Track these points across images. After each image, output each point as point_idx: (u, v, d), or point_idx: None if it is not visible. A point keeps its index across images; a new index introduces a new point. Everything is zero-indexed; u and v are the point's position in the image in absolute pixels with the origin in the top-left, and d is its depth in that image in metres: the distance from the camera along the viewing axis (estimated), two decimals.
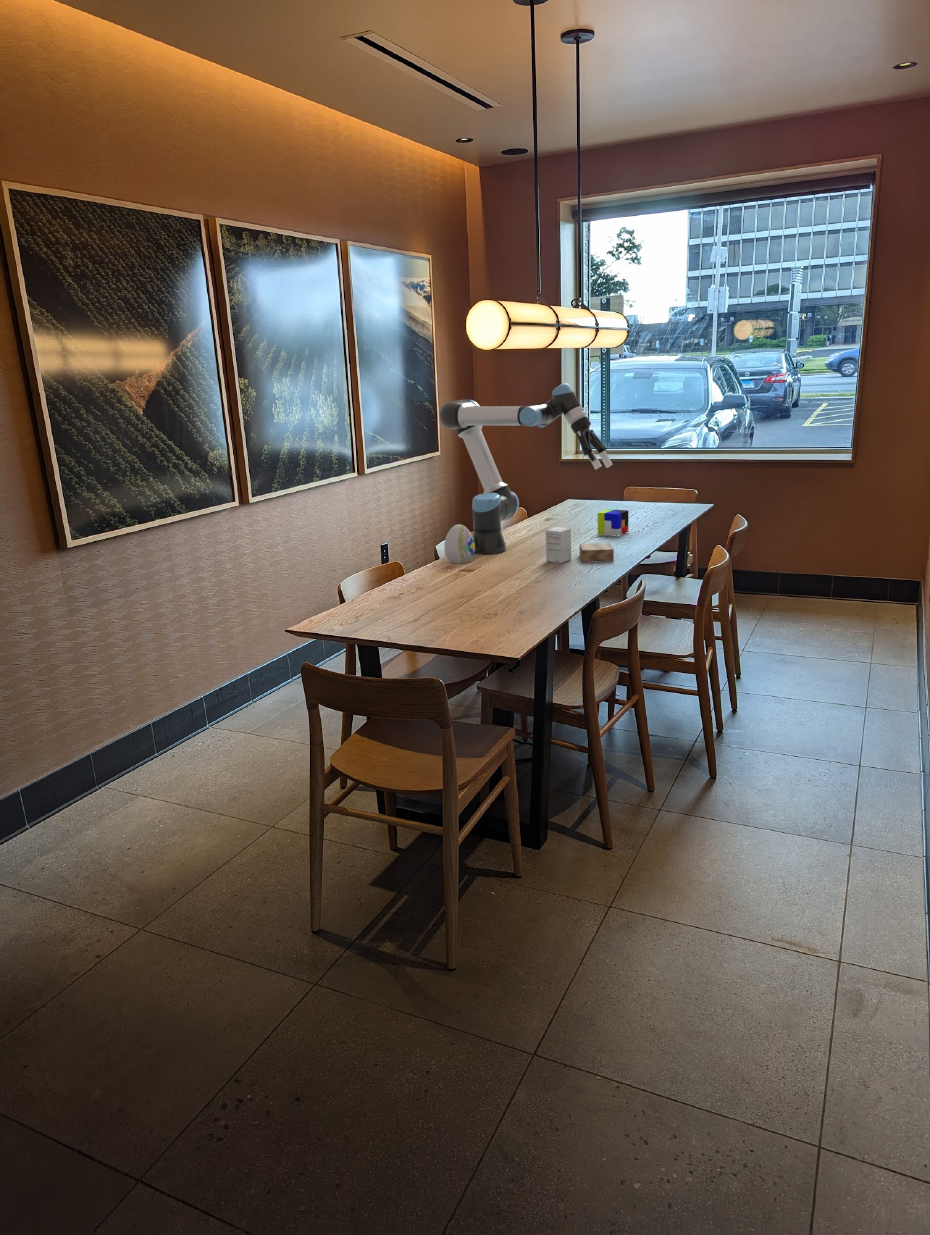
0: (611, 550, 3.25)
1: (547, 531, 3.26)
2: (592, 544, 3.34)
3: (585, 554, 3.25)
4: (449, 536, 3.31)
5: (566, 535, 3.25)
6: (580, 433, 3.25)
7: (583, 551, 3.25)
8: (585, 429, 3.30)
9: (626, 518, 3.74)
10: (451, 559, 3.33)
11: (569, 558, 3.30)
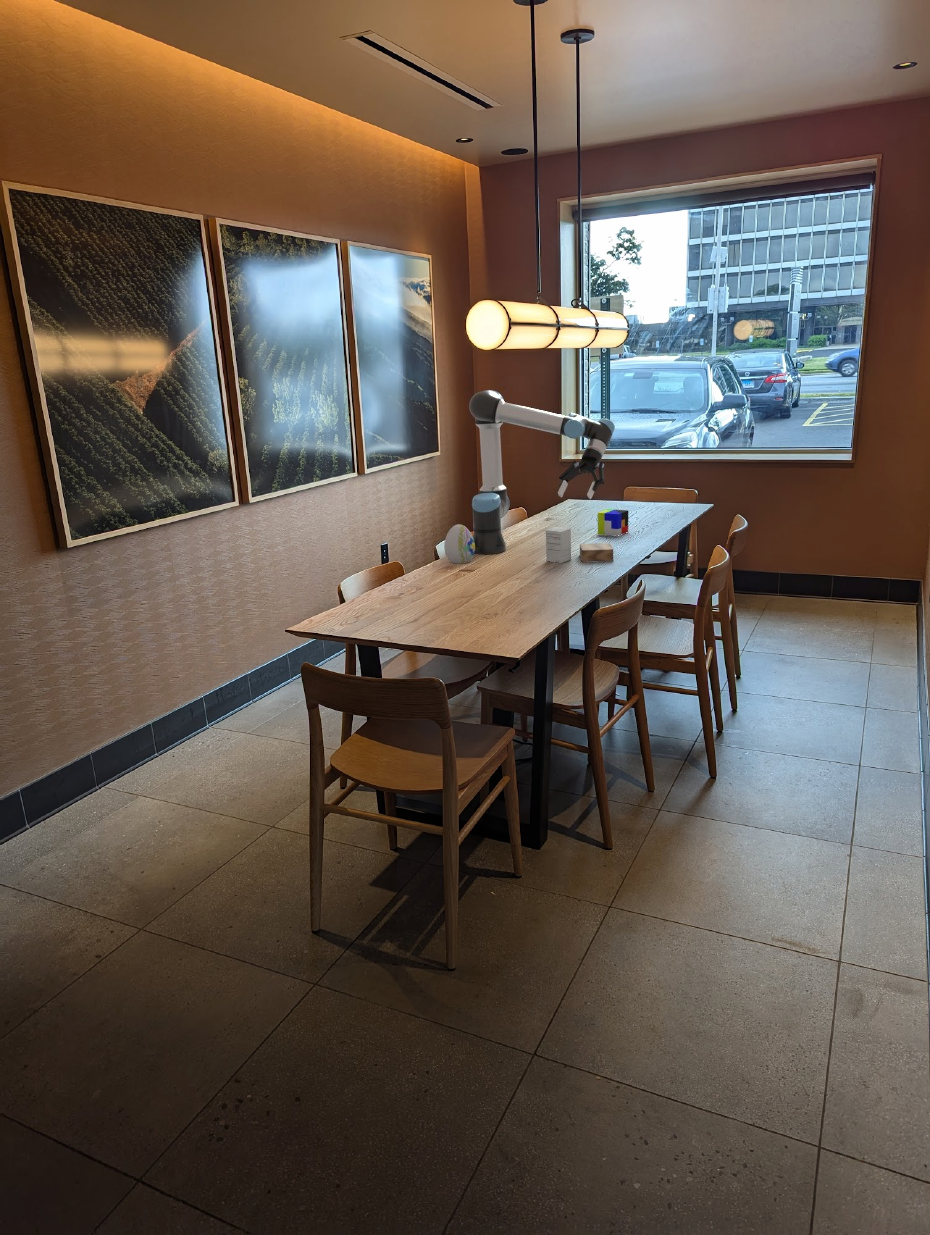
0: (611, 550, 3.25)
1: (547, 531, 3.26)
2: (592, 544, 3.34)
3: (584, 554, 3.25)
4: (449, 536, 3.31)
5: (566, 535, 3.25)
6: (603, 466, 3.32)
7: (583, 551, 3.25)
8: None
9: (626, 518, 3.74)
10: (451, 559, 3.33)
11: (569, 558, 3.30)
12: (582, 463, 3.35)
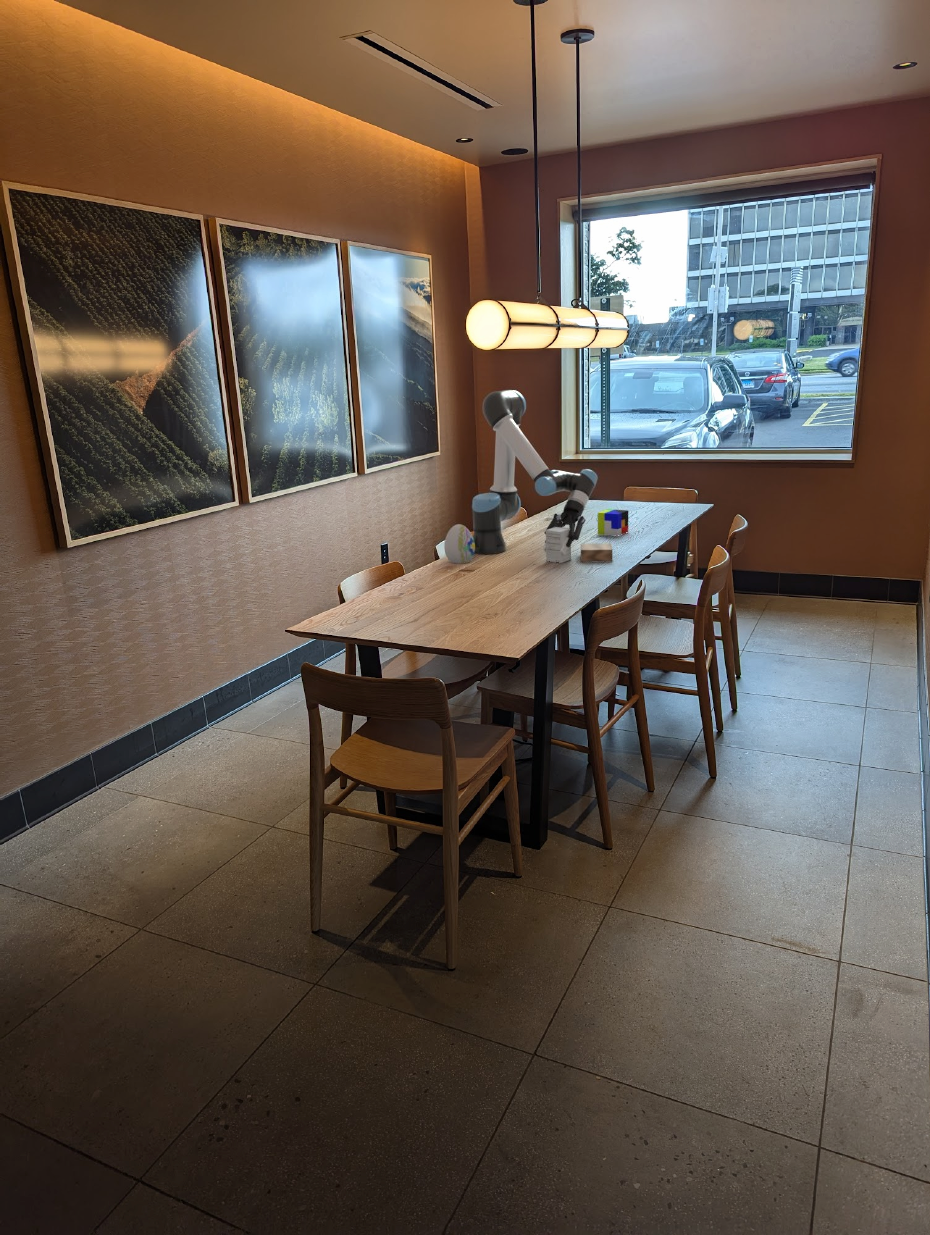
0: (610, 550, 3.24)
1: (547, 531, 3.26)
2: (593, 544, 3.34)
3: (583, 553, 3.26)
4: (449, 536, 3.31)
5: (566, 535, 3.25)
6: (583, 521, 3.28)
7: (582, 551, 3.26)
8: None
9: (626, 518, 3.74)
10: (451, 559, 3.33)
11: (569, 558, 3.30)
12: (564, 515, 3.31)
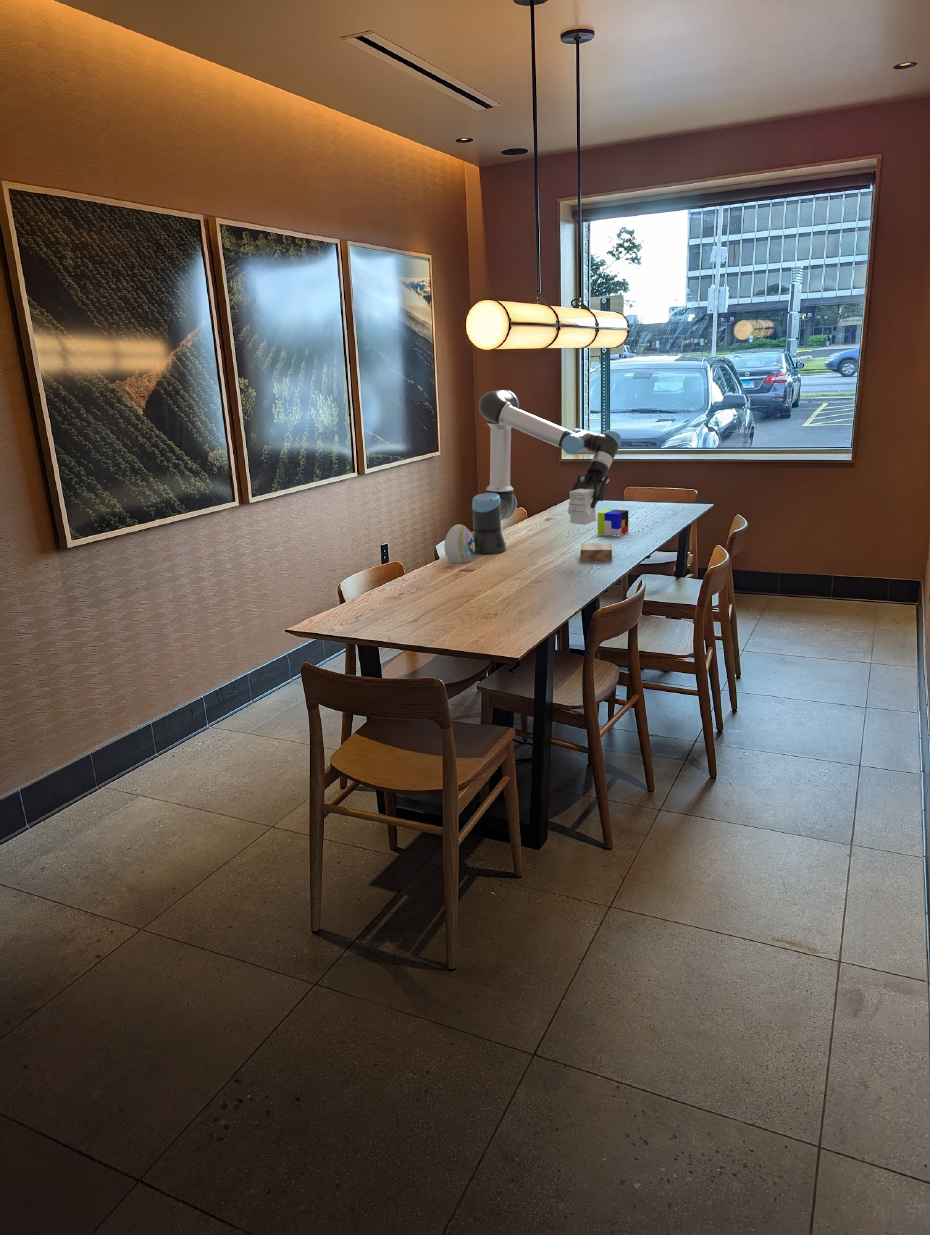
0: (609, 550, 3.24)
1: (571, 492, 3.22)
2: (593, 544, 3.34)
3: (583, 553, 3.26)
4: (449, 536, 3.31)
5: (590, 496, 3.21)
6: (607, 482, 3.23)
7: (581, 551, 3.26)
8: None
9: (626, 518, 3.74)
10: (451, 559, 3.33)
11: (593, 520, 3.25)
12: (588, 476, 3.27)
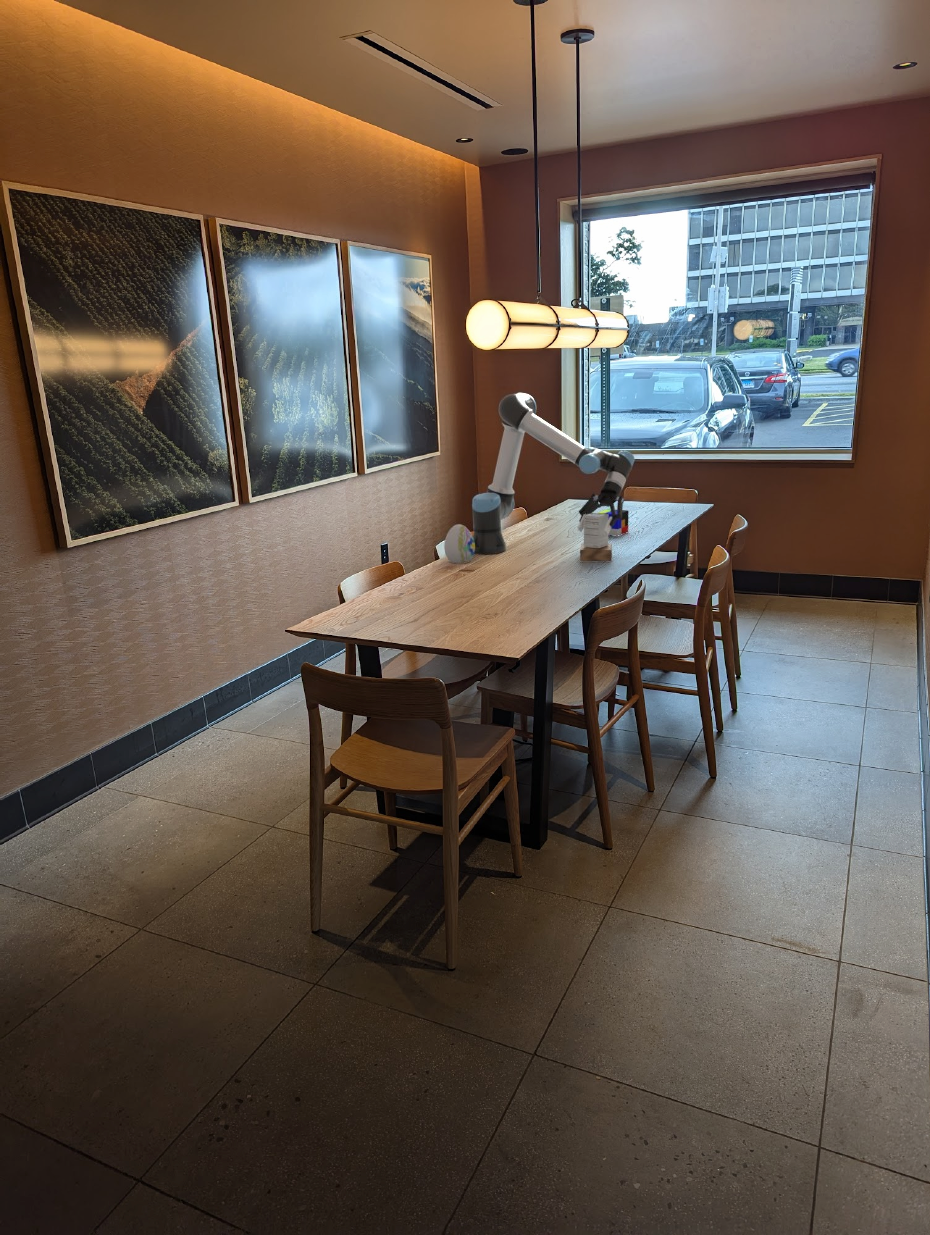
0: (609, 551, 3.24)
1: (585, 516, 3.26)
2: None
3: (582, 553, 3.26)
4: (449, 536, 3.31)
5: (604, 520, 3.26)
6: (622, 501, 3.27)
7: (581, 551, 3.26)
8: None
9: (626, 518, 3.74)
10: (451, 559, 3.33)
11: (606, 544, 3.30)
12: (601, 496, 3.31)
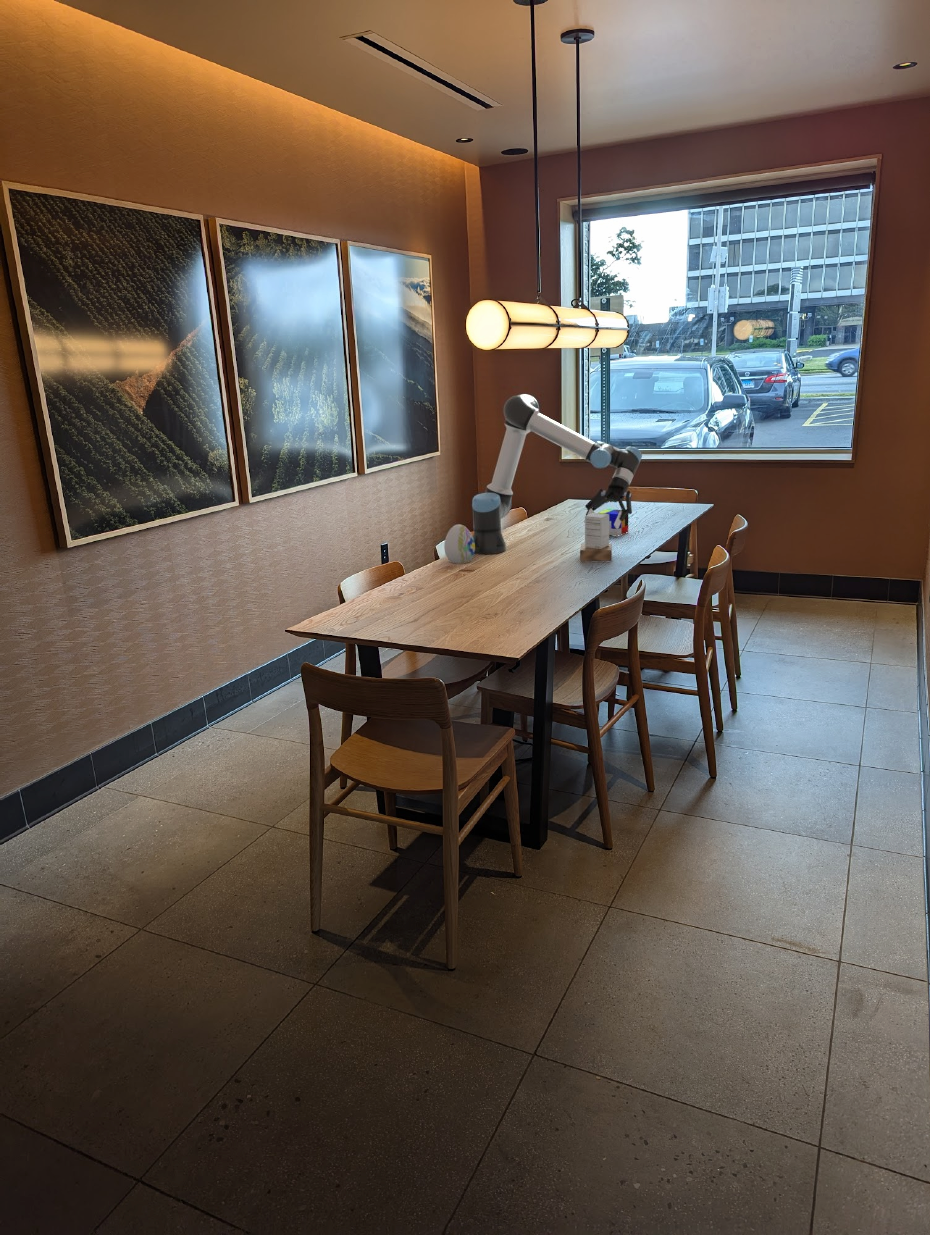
0: (609, 551, 3.24)
1: (586, 517, 3.26)
2: None
3: (582, 554, 3.26)
4: (449, 536, 3.31)
5: (605, 521, 3.26)
6: (630, 495, 3.30)
7: (581, 551, 3.26)
8: None
9: (626, 518, 3.74)
10: (451, 559, 3.33)
11: (607, 544, 3.30)
12: (609, 492, 3.34)
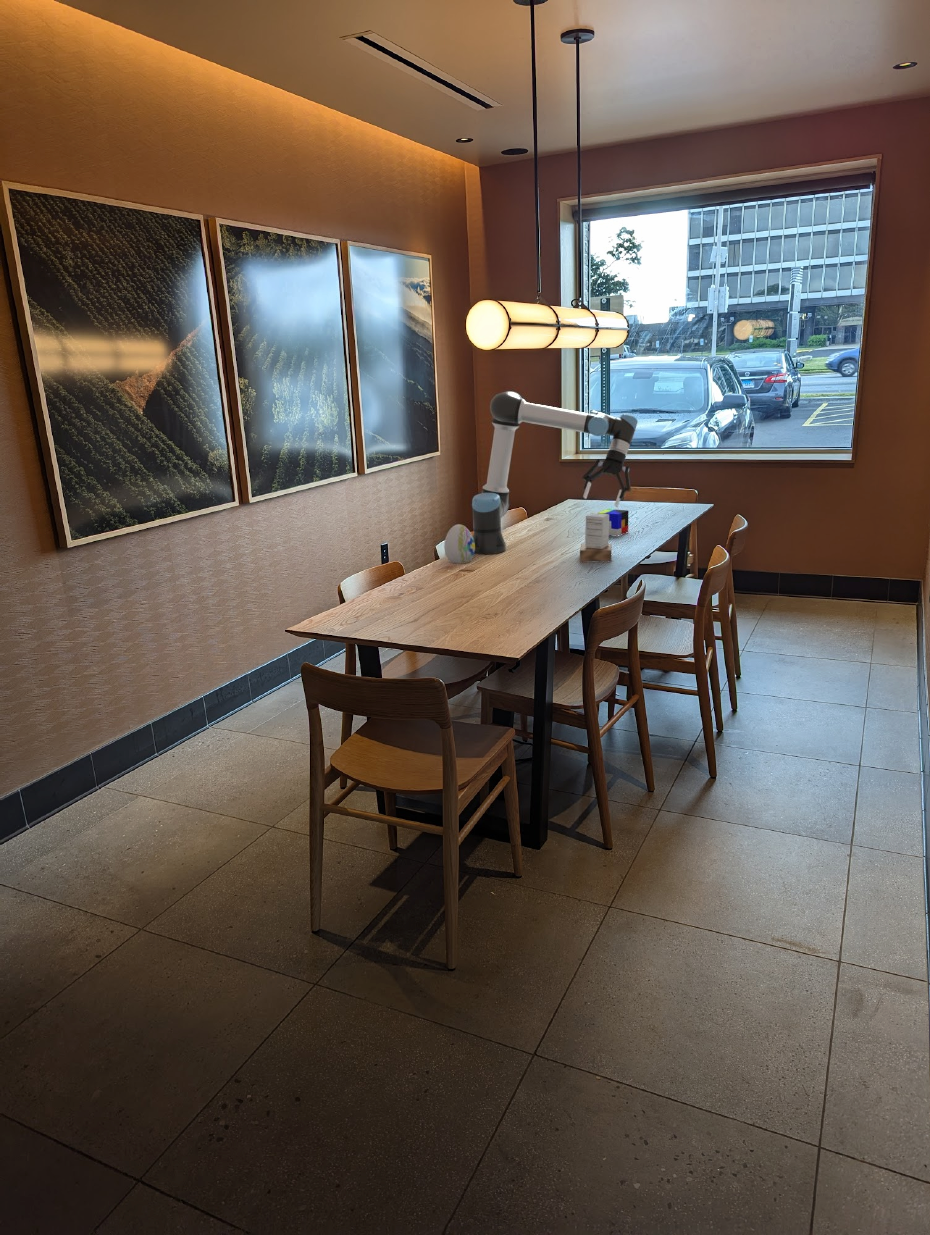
0: (609, 551, 3.24)
1: (587, 517, 3.25)
2: None
3: (582, 554, 3.26)
4: (449, 536, 3.31)
5: (606, 521, 3.26)
6: (628, 470, 3.36)
7: (580, 551, 3.26)
8: None
9: (626, 518, 3.74)
10: (451, 559, 3.33)
11: (607, 544, 3.30)
12: (607, 465, 3.37)
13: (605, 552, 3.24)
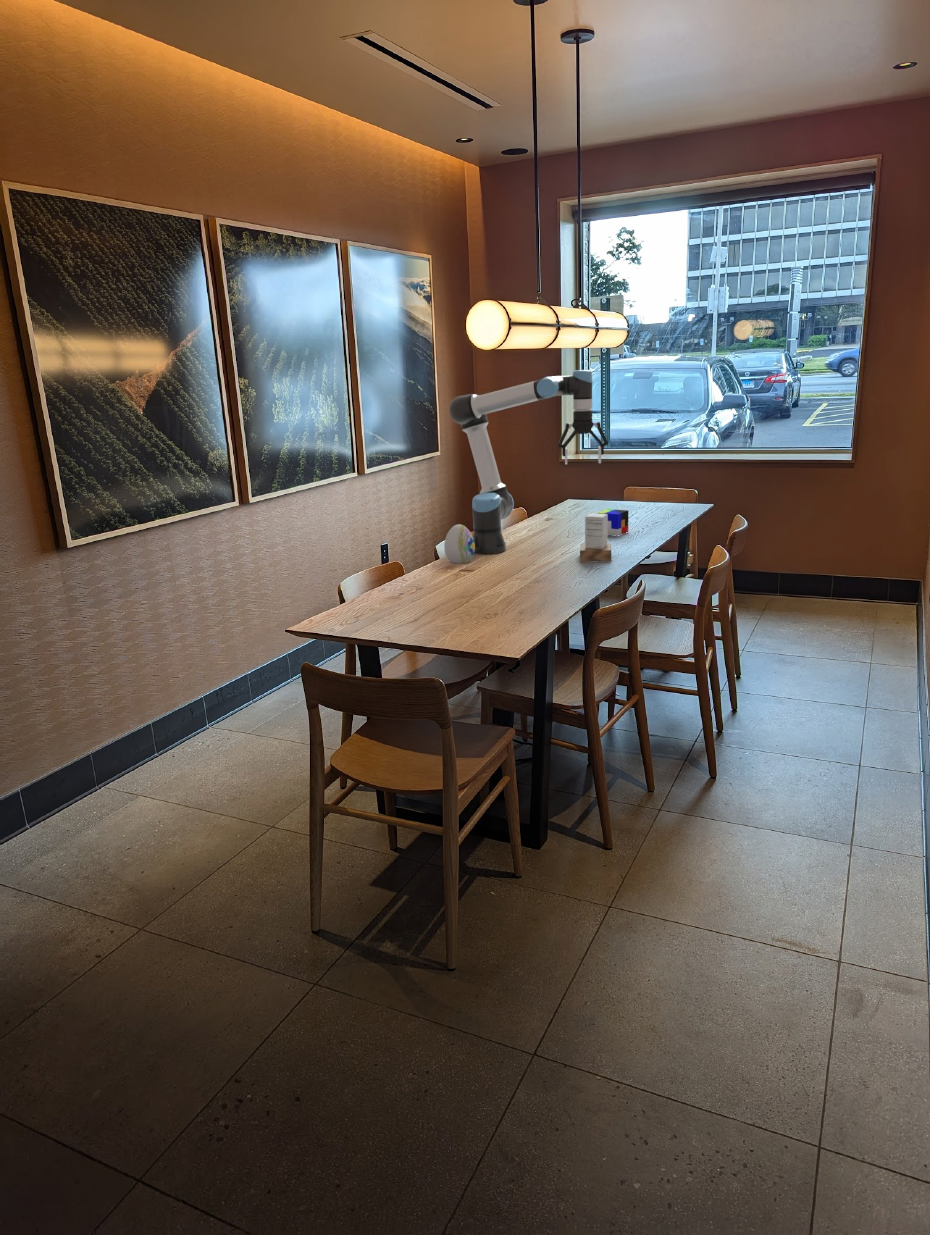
0: (609, 551, 3.24)
1: (587, 517, 3.25)
2: None
3: (582, 554, 3.26)
4: (449, 536, 3.31)
5: (605, 521, 3.26)
6: None
7: (581, 551, 3.25)
8: None
9: (626, 518, 3.74)
10: (451, 559, 3.33)
11: (606, 544, 3.30)
12: (579, 427, 3.36)
13: (605, 552, 3.24)
